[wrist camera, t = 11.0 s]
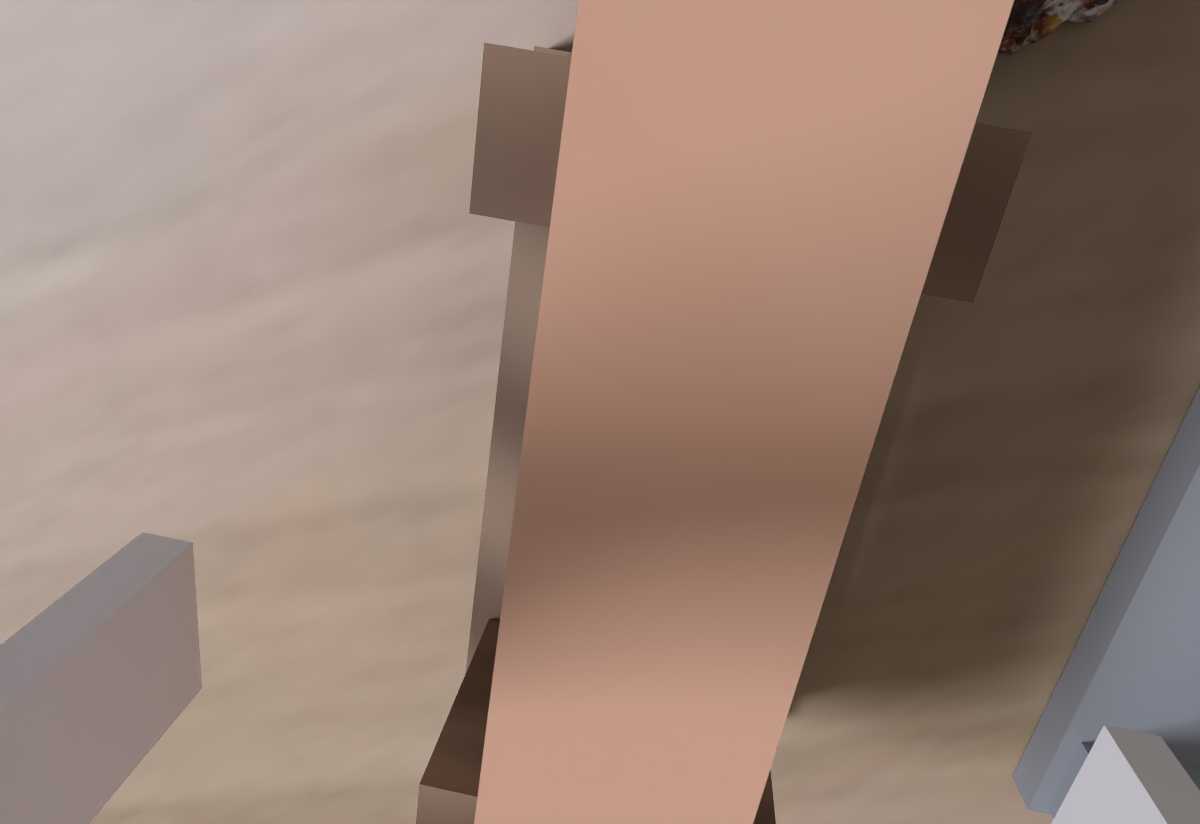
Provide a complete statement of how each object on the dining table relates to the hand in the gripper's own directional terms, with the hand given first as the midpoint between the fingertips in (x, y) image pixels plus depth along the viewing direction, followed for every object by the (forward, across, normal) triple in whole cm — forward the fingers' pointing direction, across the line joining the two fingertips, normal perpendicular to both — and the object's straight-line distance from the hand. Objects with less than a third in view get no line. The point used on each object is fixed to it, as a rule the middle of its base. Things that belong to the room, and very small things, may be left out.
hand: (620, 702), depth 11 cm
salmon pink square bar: (+3, 0, 0) cm, 3 cm away
